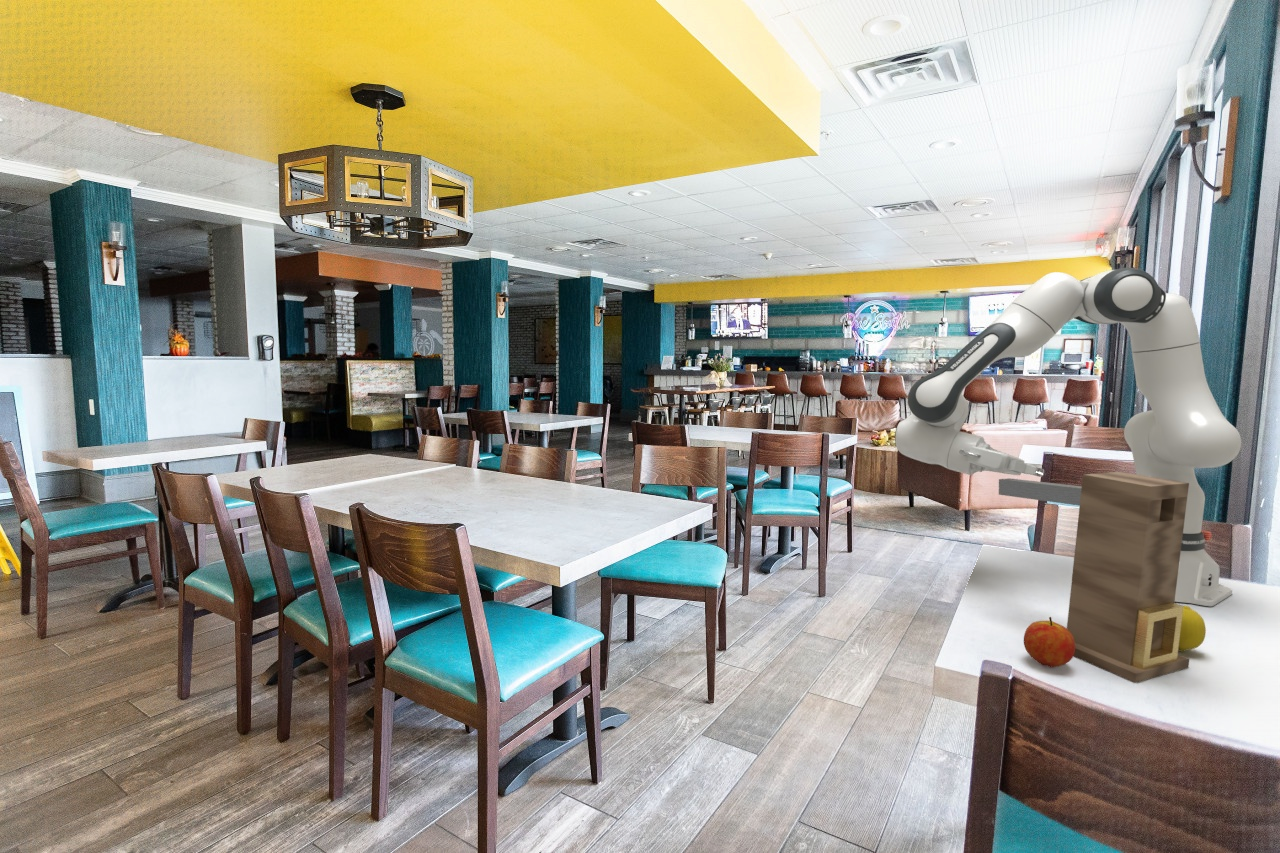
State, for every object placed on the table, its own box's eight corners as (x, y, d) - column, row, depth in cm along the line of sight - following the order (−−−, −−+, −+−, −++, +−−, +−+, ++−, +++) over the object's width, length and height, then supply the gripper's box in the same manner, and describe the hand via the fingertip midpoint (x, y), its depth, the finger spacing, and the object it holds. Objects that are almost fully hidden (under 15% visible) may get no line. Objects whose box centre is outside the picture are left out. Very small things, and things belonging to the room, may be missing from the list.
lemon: (1210, 660, 105) (1216, 614, 104) (1172, 656, 106) (1178, 610, 105) (1189, 645, 110) (1194, 601, 110) (1153, 642, 112) (1158, 598, 111)
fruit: (1043, 652, 107) (1047, 606, 106) (1083, 671, 100) (1088, 623, 99) (1011, 657, 104) (1016, 610, 104) (1050, 677, 98) (1055, 628, 97)
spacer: (1166, 656, 103) (1172, 602, 102) (1176, 660, 102) (1183, 606, 101) (1131, 665, 99) (1138, 610, 98) (1142, 669, 98) (1149, 613, 97)
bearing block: (1097, 632, 115) (1115, 469, 112) (1188, 667, 102) (1211, 484, 99) (1045, 644, 110) (1062, 473, 106) (1135, 683, 97) (1158, 490, 93)
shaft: (1009, 493, 124) (1009, 478, 124) (1150, 512, 102) (1151, 493, 102) (998, 494, 123) (998, 479, 123) (1139, 513, 101) (1139, 495, 101)
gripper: (961, 436, 132) (1035, 454, 123) (983, 444, 148) (1051, 460, 139) (952, 465, 133) (1026, 485, 124) (975, 470, 148) (1042, 488, 139)
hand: (1039, 472), depth 132 cm, fingers open, 8 cm apart
